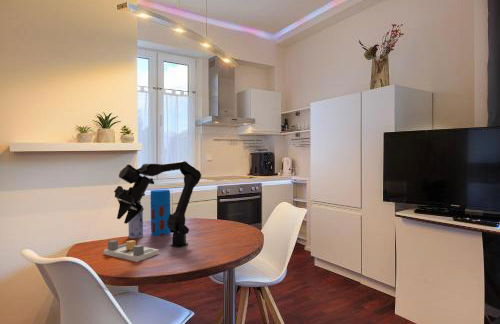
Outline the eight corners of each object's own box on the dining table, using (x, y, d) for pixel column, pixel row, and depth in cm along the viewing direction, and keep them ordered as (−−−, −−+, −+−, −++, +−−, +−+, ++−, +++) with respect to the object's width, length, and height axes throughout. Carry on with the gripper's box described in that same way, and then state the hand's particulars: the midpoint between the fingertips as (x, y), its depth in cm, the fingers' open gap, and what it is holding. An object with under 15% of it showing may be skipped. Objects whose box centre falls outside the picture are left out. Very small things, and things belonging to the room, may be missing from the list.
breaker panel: (125, 247, 152) (125, 236, 152) (158, 253, 141) (158, 241, 141) (103, 254, 142) (103, 241, 142) (137, 261, 131) (136, 248, 131)
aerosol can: (140, 238, 170) (140, 201, 169) (126, 238, 169) (125, 201, 169) (145, 234, 178) (144, 199, 177) (131, 234, 177) (130, 199, 177)
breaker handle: (131, 247, 144) (131, 239, 144) (135, 248, 142) (135, 240, 142) (126, 249, 141) (125, 241, 141) (130, 250, 139) (130, 242, 139)
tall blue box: (171, 234, 176) (171, 190, 176) (151, 236, 172) (151, 191, 172) (169, 230, 186) (168, 189, 186) (150, 232, 182) (149, 190, 182)
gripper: (129, 188, 148) (112, 219, 142) (115, 175, 131) (96, 209, 125) (150, 196, 147) (134, 227, 141) (139, 184, 130) (121, 219, 124)
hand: (121, 221), depth 133 cm, fingers open, 9 cm apart
